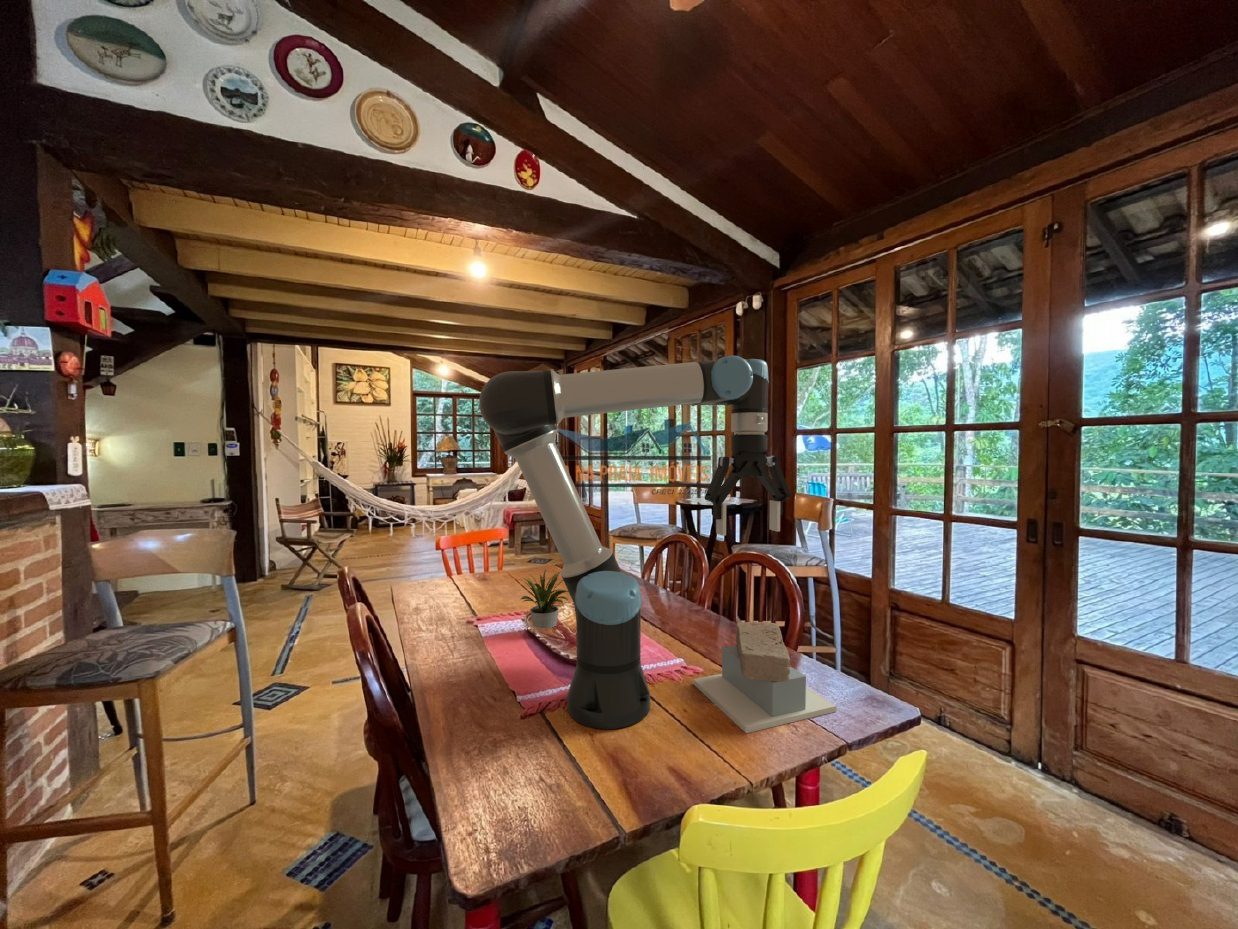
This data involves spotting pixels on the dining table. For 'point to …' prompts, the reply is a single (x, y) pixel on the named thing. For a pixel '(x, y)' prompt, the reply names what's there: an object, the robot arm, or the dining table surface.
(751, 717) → the tower base
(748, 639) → the brick
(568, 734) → the dining table surface
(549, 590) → the house plant
